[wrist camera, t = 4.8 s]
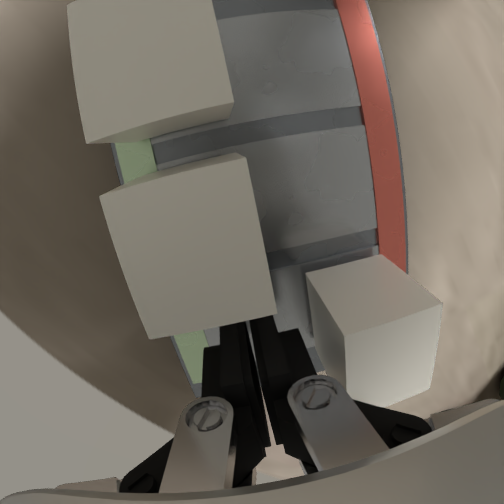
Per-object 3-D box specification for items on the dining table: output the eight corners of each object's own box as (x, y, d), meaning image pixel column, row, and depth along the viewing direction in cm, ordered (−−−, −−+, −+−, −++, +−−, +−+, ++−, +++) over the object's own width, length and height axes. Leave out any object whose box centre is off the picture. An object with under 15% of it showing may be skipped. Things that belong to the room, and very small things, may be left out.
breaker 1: (207, 22, 8) (202, -39, 4) (228, 118, 9) (234, 101, 6) (117, 47, 8) (67, 4, 4) (135, 142, 9) (85, 144, 5)
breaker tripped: (381, 254, 11) (442, 302, 8) (382, 328, 12) (429, 388, 9) (305, 272, 11) (344, 335, 7) (315, 348, 12) (346, 420, 9)
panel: (345, -9, 10) (360, -24, 8) (391, 328, 15) (406, 345, 13) (103, 31, 9) (88, 19, 8) (197, 376, 15) (195, 399, 13)
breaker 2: (236, 152, 10) (246, 158, 6) (257, 253, 11) (277, 313, 7) (143, 175, 10) (98, 196, 6) (170, 272, 11) (149, 339, 7)
